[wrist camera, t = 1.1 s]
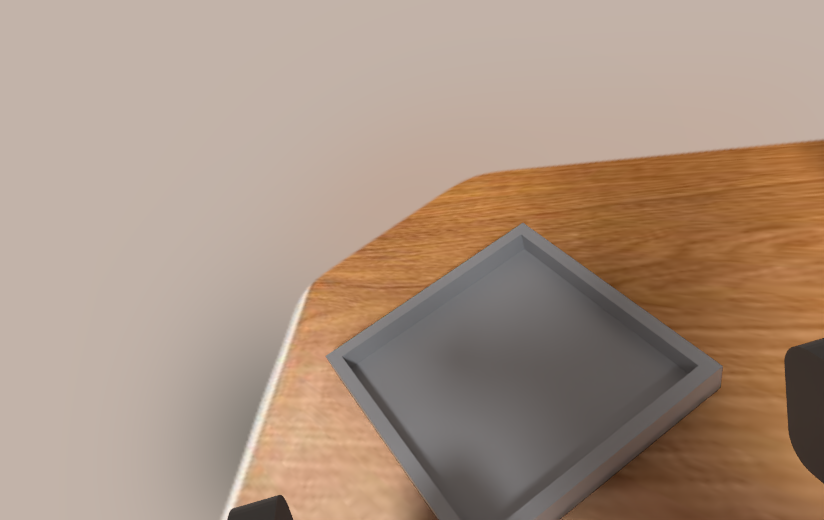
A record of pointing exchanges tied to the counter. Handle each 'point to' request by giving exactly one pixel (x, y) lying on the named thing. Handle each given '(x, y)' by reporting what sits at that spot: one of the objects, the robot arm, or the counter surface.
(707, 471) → the counter surface
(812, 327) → the counter surface
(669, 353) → the tray
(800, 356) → the robot arm
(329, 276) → the counter surface
